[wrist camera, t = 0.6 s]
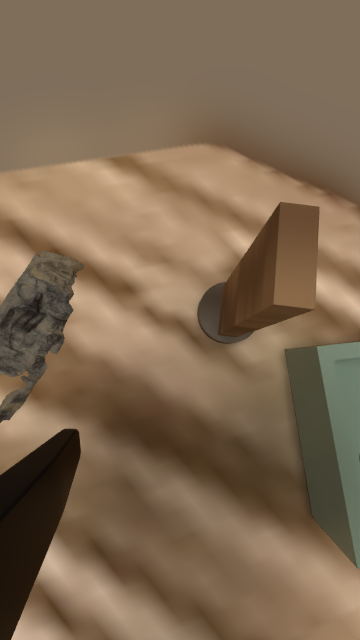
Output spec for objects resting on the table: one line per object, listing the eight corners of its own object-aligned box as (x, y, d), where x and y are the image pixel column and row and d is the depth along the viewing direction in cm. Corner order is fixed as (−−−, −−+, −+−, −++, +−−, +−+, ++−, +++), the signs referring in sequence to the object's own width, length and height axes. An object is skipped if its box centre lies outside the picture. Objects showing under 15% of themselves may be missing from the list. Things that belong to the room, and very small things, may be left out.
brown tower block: (253, 346, 22) (363, 329, 9) (194, 339, 22) (223, 312, 9) (257, 289, 23) (365, 200, 10) (200, 282, 23) (235, 184, 10)
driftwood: (50, 243, 24) (39, 233, 22) (113, 282, 23) (107, 275, 21) (-100, 449, 21) (-130, 459, 19) (-33, 496, 21) (-56, 511, 19)
